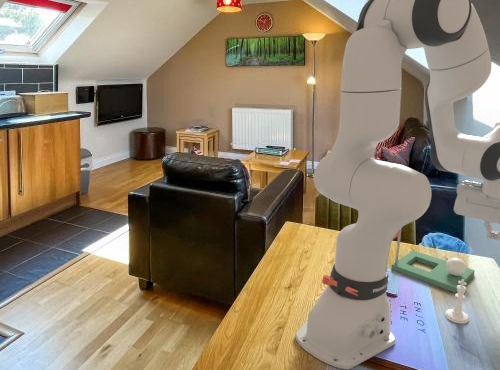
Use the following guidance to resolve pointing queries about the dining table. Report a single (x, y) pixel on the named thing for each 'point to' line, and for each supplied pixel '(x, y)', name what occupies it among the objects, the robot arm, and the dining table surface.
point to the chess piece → (458, 306)
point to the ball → (456, 266)
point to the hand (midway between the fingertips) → (493, 238)
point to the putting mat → (435, 276)
